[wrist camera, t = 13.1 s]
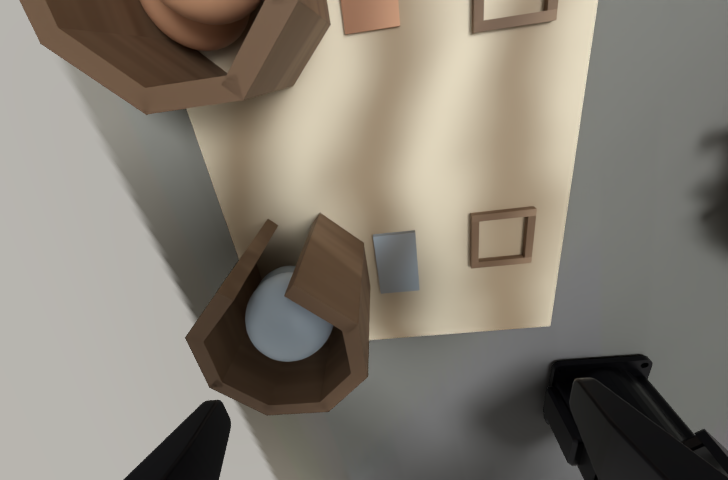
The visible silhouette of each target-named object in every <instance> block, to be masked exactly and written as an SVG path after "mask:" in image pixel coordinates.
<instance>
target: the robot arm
mask: <svg viewBox="0 0 728 480" xmlns="http://www.w3.org/2000/svg"><path fill="white" fill-rule="evenodd" d="M651 367H652V362H651V360H650V359H649V358H648V357H647V356H630V357H615V358H601V359H586V360H572V361H559V362H556V363H554V364H553V365H552V369H551V376H550V382H549V387H548V388H547V390H546V395H545V401H544V408H543V412H544V419H545V421H546V423H547V424H549V425H550V426H551V429H552V431H553V433H554V435H555V437H556V439H557V441H558V443H559V445H560V448H561V450H562V452H563V454H564V456H565V458H566V460H567V462H568V463H569V464H570V465H572V466H578V468H579V470H580V472H581V474H582V476H583V478H584V480H728V451H727V450H726V449H725V448H724V447H723V446H722V445H721V444H720V443H719V442H718V441H717V440H716V439H715V438H714V437H712V436H711V435H710V434H709V433H708V432H707V431H706V430H705V429H702V430H700V431H698V432H696V433H695V434H696V435H694V433H693V432H692V431H691V430H690V429H689V428H688V426H687V425H686V424H685V423H684V422H683V421H682V419H681V418H680V417H679V416H678V415H677V413H676V412H675V411H674V410H673V409H672V408H671V406H670V405H669V404H668V403H667V402H666V401H665V399H664V398H663V397H662V396H661V395H660V393H659V392H658V391H657V390H656V389H655V388H654V386H653V385H652V384H651V383H650V382H649V381H648V376H649V373H650V370H651ZM230 428H231V421H230V418H229V416H228V413H227V411H226V409H225V407H224V405H223V403H222V402H221V401H220V400H210V401H205V402H203V403H202V404H201V405H200V406H199V407H198V408H197V409H196V410H195V411H194V412H193V413H192V414H191V415H190V416H189V417H188V418H187V419H185V420H184V421H183V422H182V423H181V424H180V425H179V426H178V427H177V428H176V429H175V430H174V431H173V432H172V433H171V434H170V435H169V436H168V437H167V438H166V439H165V440H164V441H163V442H162V443H161V444H160V445H159V446H158V447H157V448H156V449H155V450H154V451H152V453H151V454H149V455H148V456H147V457H146V459H144V460H143V461H142V462H141V463H140V464H139V465H138V466H137V467H136V468H135V469H134V470H133V471H132V472H131V473H130V474H129V475H128V476H127V477H126V478H125V479H124V480H219V477H220V472H221V468H222V464H223V459H224V455H225V451H226V446H227V442H228V437H229V433H230Z"/></svg>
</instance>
